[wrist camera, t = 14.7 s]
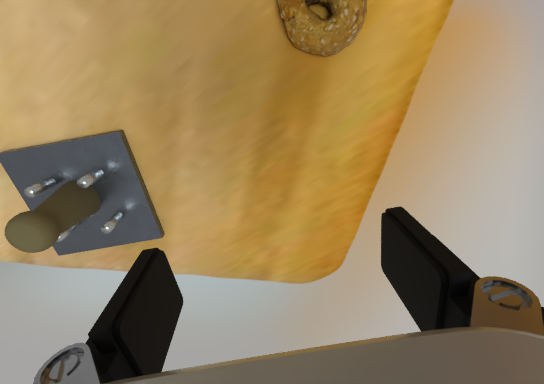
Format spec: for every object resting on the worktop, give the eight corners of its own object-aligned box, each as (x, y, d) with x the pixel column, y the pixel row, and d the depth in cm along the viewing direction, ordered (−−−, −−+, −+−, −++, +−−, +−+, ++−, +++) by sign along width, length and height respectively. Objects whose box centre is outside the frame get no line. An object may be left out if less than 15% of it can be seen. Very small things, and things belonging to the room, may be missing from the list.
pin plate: (2, 151, 38) (-33, 162, 34) (123, 130, 38) (103, 138, 33) (63, 251, 46) (41, 271, 41) (164, 233, 45) (153, 252, 41)
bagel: (310, -65, 31) (319, -87, 26) (375, 7, 34) (392, -3, 29) (259, 15, 33) (259, 6, 29) (322, 74, 37) (331, 74, 32)
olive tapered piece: (108, 199, 41) (60, 240, 31) (86, 222, 42) (33, 268, 32) (73, 172, 39) (9, 207, 29) (50, 198, 40) (-18, 239, 30)
